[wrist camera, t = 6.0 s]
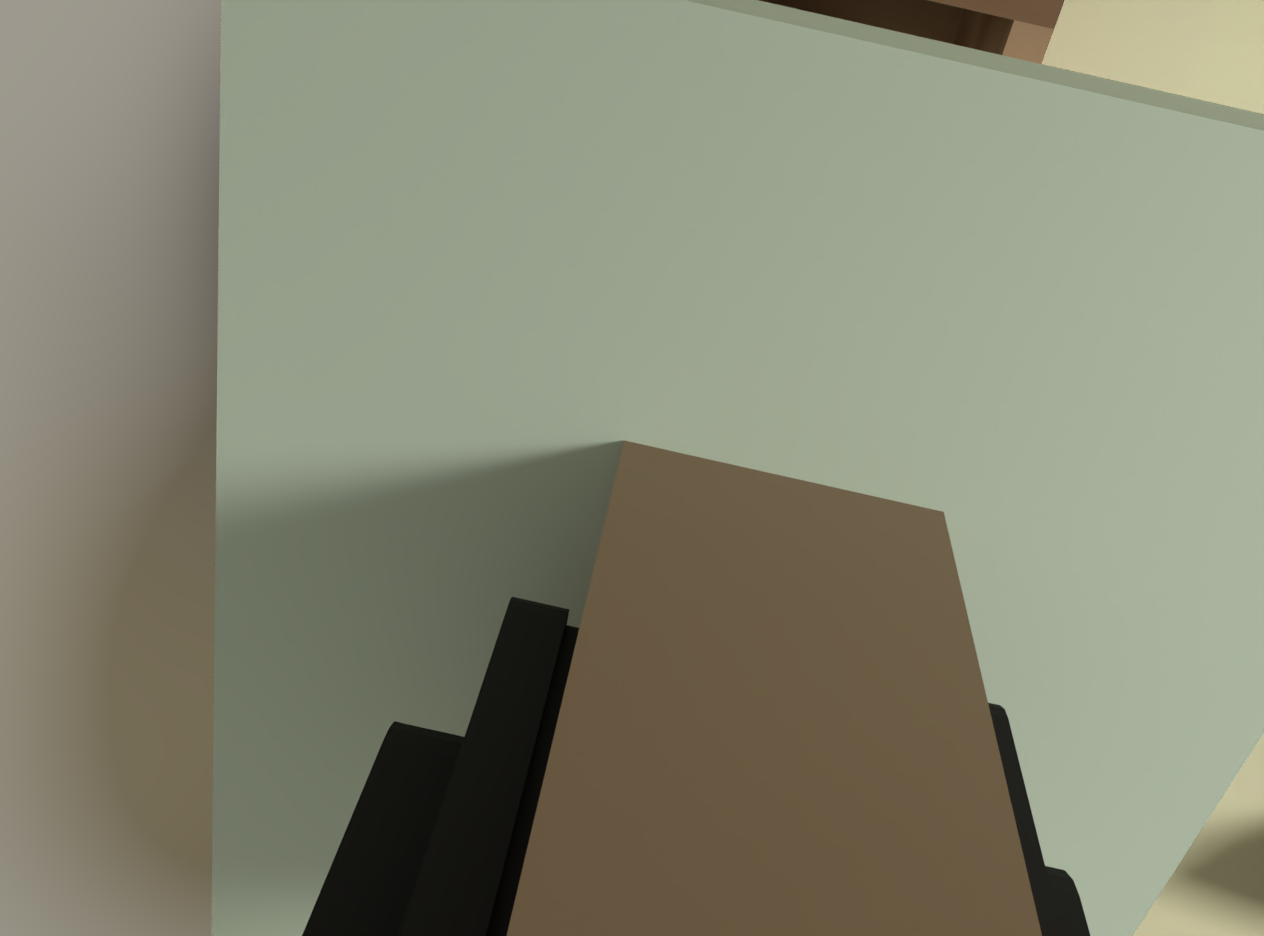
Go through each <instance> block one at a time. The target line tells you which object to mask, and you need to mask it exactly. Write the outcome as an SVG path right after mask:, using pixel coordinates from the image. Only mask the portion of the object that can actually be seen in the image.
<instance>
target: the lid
mask: <svg viewBox="0 0 1264 936" xmlns="http://www.w3.org/2000/svg"><path fill="white" fill-rule="evenodd" d="M220 67H221V68H220V162H219V163H220V165H219V168H220V169H219V173H220V174H219V259H218V264H219V265H218V355H217V357H218V358H217V366H218V368H217V452H216V453H217V455H216V548H215V549H216V551H215V645H214V648H215V649H214V653H215V654H214V745H213V747H214V749H213V839H212V847H213V848H212V934H211V936H302V934H303V932H304V930H305V927H306V925H307V922H308V920H309V918H310V915H311V913H312V910H313V908H314V906H315V903H316V901H317V898H318V896H319V894H320V891H321V889H322V886H323V884H324V882H325V879H326V877H327V874H328V872H329V870H330V867H331V865H332V862H333V860H334V857H335V855H336V853H337V850H338V848H339V845H340V843H341V841H342V838H343V836H344V833H345V831H346V829H347V826H348V824H349V821H350V819H351V817H352V814H353V812H354V809H355V807H356V805H357V802H358V800H359V797H360V795H361V793H362V790H363V788H364V785H365V783H366V781H367V778H368V776H369V773H370V771H371V769H372V766H373V764H374V761H375V759H376V756H377V754H378V752H379V749H380V747H381V744H382V742H383V740H384V738H385V736H386V734H387V731H388V729H389V727H390V726H391V725H392V723H393V722H394V721H395V722H400V723H404V724H409V725H413V726H418V727H422V728H427V729H431V730H436V731H440V732H445V733H449V734H454V735H458V736H463V737H465V734H466V731H467V728H468V725H469V722H470V719H471V716H472V713H473V710H474V707H475V704H476V701H477V698H478V695H479V692H480V689H481V686H482V683H483V680H484V677H485V673H486V670H487V667H488V664H489V661H490V658H491V655H492V652H493V649H494V646H495V643H496V640H497V637H498V634H499V631H500V628H501V625H502V622H503V619H504V616H505V613H506V610H507V607H508V604H509V602H510V599H511V597H516V598H521V599H525V600H530V601H534V602H539V603H543V604H548V605H552V606H557V607H561V608H566V609H569V615H568V620H567V625H568V626H573V627H577V628H579V632H578V636H577V640H576V645H575V649H574V653H573V657H572V661H571V666H570V670H569V674H568V678H567V683H566V687H565V691H564V695H563V699H562V704H561V708H560V712H559V716H558V721H557V725H556V729H555V733H554V737H553V742H552V746H551V750H550V754H549V759H548V763H547V767H546V771H545V775H544V780H543V784H542V788H541V792H540V797H539V801H538V805H537V809H536V813H535V818H534V822H533V826H532V830H531V835H530V839H529V843H528V847H527V851H526V856H525V860H524V864H523V868H522V873H521V877H520V881H519V885H518V889H517V894H516V898H515V902H514V906H513V911H512V915H511V919H510V923H509V927H508V932H507V936H1042V933H1041V929H1040V925H1039V920H1038V916H1037V912H1036V908H1035V903H1034V899H1033V895H1032V890H1031V886H1030V882H1029V877H1028V873H1027V869H1026V864H1025V860H1024V856H1023V852H1022V847H1021V843H1020V839H1019V834H1018V830H1017V826H1016V821H1015V817H1014V813H1013V808H1012V804H1011V800H1010V796H1009V791H1008V787H1007V783H1006V778H1005V774H1004V770H1003V765H1002V761H1001V757H1000V752H999V748H998V744H997V740H996V735H995V731H994V727H993V722H992V718H991V714H990V709H989V705H988V703H992V704H997V705H1000V706H1002V707H1003V708H1004V709H1005V711H1006V714H1007V716H1008V719H1009V723H1010V727H1011V731H1012V735H1013V739H1014V743H1015V747H1016V751H1017V755H1018V759H1019V763H1020V768H1021V772H1022V776H1023V780H1024V784H1025V788H1026V792H1027V796H1028V800H1029V804H1030V808H1031V812H1032V816H1033V820H1034V824H1035V828H1036V832H1037V836H1038V840H1039V844H1040V848H1041V852H1042V856H1043V860H1044V864H1045V866H1048V867H1053V868H1057V869H1062V870H1065V871H1066V872H1067V873H1068V874H1069V876H1070V877H1071V878H1072V879H1073V881H1074V883H1075V886H1076V888H1077V891H1078V893H1079V896H1080V899H1081V903H1082V907H1083V910H1084V914H1085V918H1086V921H1087V925H1088V929H1089V932H1090V936H1133V935H1134V933H1135V932H1136V930H1137V929H1138V927H1139V926H1140V924H1141V922H1142V921H1143V919H1144V918H1145V916H1146V915H1147V913H1148V912H1149V910H1150V908H1151V907H1152V905H1153V904H1154V902H1155V901H1156V899H1157V898H1158V896H1159V894H1160V893H1161V891H1162V890H1163V888H1164V887H1165V885H1166V884H1167V882H1168V880H1169V879H1170V877H1171V876H1172V874H1173V873H1174V871H1175V870H1176V868H1177V866H1178V865H1179V863H1180V862H1181V860H1182V859H1183V857H1184V856H1185V854H1186V852H1187V851H1188V849H1189V848H1190V846H1191V845H1192V843H1193V842H1194V840H1195V838H1196V837H1197V835H1198V834H1199V832H1200V831H1201V829H1202V828H1203V826H1204V824H1205V823H1206V821H1207V820H1208V818H1209V817H1210V815H1211V814H1212V812H1213V810H1214V809H1215V807H1216V806H1217V804H1218V803H1219V801H1220V800H1221V798H1222V796H1223V795H1224V793H1225V792H1226V790H1227V789H1228V787H1229V786H1230V784H1231V782H1232V781H1233V779H1234V778H1235V776H1236V775H1237V773H1238V772H1239V770H1240V768H1241V767H1242V765H1243V764H1244V762H1245V761H1246V759H1247V758H1248V756H1249V755H1250V753H1251V751H1252V750H1253V748H1254V747H1255V745H1256V744H1257V742H1258V741H1259V739H1260V737H1261V736H1262V734H1263V733H1264V114H1260V113H1256V112H1251V111H1247V110H1242V109H1238V108H1234V107H1229V106H1225V105H1220V104H1216V103H1211V102H1207V101H1203V100H1198V99H1194V98H1189V97H1185V96H1180V95H1176V94H1172V93H1167V92H1163V91H1158V90H1154V89H1149V88H1145V87H1141V86H1136V85H1132V84H1127V83H1123V82H1118V81H1114V80H1109V79H1105V78H1101V77H1096V76H1092V75H1087V74H1083V73H1078V72H1074V71H1070V70H1065V69H1061V68H1056V67H1052V66H1047V65H1043V64H1039V63H1034V62H1030V61H1025V60H1021V59H1016V58H1012V57H1007V56H1003V55H999V54H994V53H990V52H985V51H981V50H976V49H972V48H968V47H963V46H959V45H954V44H950V43H945V42H941V41H937V40H932V39H928V38H923V37H919V36H914V35H910V34H906V33H901V32H897V31H892V30H888V29H883V28H879V27H874V26H870V25H866V24H861V23H857V22H852V21H848V20H843V19H839V18H835V17H830V16H826V15H821V14H817V13H812V12H808V11H804V10H799V9H795V8H790V7H786V6H781V5H777V4H772V3H768V2H764V1H759V0H221V65H220Z"/></svg>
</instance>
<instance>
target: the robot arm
mask: <svg viewBox="0 0 1264 936" xmlns="http://www.w3.org/2000/svg"><path fill="white" fill-rule="evenodd" d="M568 615H569V609H566V608H561V607H557V606H552V605H548V604H543V603H539V602H534V601H530V600H525V599H521V598H516V597H511V599H510V602H509V604H508V607H507V610H506V613H505V616H504V619H503V622H502V625H501V628H500V631H499V634H498V637H497V640H496V643H495V646H494V649H493V652H492V655H491V658H490V661H489V664H488V667H487V670H486V673H485V677H484V680H483V683H482V686H481V689H480V692H479V695H478V698H477V701H476V704H475V707H474V710H473V713H472V716H471V719H470V722H469V725H468V728H467V731H466V734H465V737H463V736H458V735H454V734H449V733H445V732H440V731H436V730H431V729H427V728H422V727H418V726H413V725H409V724H404V723H400V722H395V721H394V722H393V723H392V725H391V726H390V727H389V729H388V731H387V734H386V736H385V738H384V740H383V742H382V744H381V747H380V749H379V752H378V754H377V756H376V759H375V761H374V764H373V766H372V769H371V771H370V773H369V776H368V778H367V781H366V783H365V785H364V788H363V790H362V793H361V795H360V797H359V800H358V802H357V805H356V807H355V809H354V812H353V814H352V817H351V819H350V821H349V824H348V826H347V829H346V831H345V833H344V836H343V838H342V841H341V843H340V845H339V848H338V850H337V853H336V855H335V857H334V860H333V862H332V865H331V867H330V870H329V872H328V874H327V877H326V879H325V882H324V884H323V886H322V889H321V891H320V894H319V896H318V898H317V901H316V903H315V906H314V908H313V910H312V913H311V915H310V918H309V920H308V922H307V925H306V927H305V930H304V932H303V934H302V936H507V932H508V927H509V923H510V919H511V915H512V911H513V906H514V902H515V898H516V894H517V889H518V885H519V881H520V877H521V873H522V868H523V864H524V860H525V856H526V851H527V847H528V843H529V839H530V835H531V830H532V826H533V822H534V818H535V813H536V809H537V805H538V801H539V797H540V792H541V788H542V784H543V780H544V775H545V771H546V767H547V763H548V759H549V754H550V750H551V746H552V742H553V737H554V733H555V729H556V725H557V721H558V716H559V712H560V708H561V704H562V699H563V695H564V691H565V687H566V683H567V678H568V674H569V670H570V666H571V661H572V657H573V653H574V649H575V645H576V640H577V636H578V632H579V628H577V627H573V626H568V625H567V620H568ZM988 705H989V709H990V714H991V718H992V722H993V727H994V731H995V735H996V740H997V744H998V748H999V752H1000V757H1001V761H1002V765H1003V770H1004V774H1005V778H1006V783H1007V787H1008V791H1009V796H1010V800H1011V804H1012V808H1013V813H1014V817H1015V821H1016V826H1017V830H1018V834H1019V839H1020V843H1021V847H1022V852H1023V856H1024V860H1025V864H1026V869H1027V873H1028V877H1029V882H1030V886H1031V890H1032V895H1033V899H1034V903H1035V908H1036V912H1037V916H1038V920H1039V925H1040V929H1041V933H1042V936H1090V932H1089V929H1088V925H1087V921H1086V918H1085V914H1084V910H1083V907H1082V903H1081V899H1080V896H1079V893H1078V891H1077V888H1076V886H1075V883H1074V881H1073V879H1072V878H1071V877H1070V876H1069V874H1068V873H1067V872H1066V871H1065V870H1062V869H1057V868H1053V867H1048V866H1045V864H1044V860H1043V856H1042V852H1041V848H1040V844H1039V840H1038V836H1037V832H1036V828H1035V824H1034V820H1033V816H1032V812H1031V808H1030V804H1029V800H1028V796H1027V792H1026V788H1025V784H1024V780H1023V776H1022V772H1021V768H1020V763H1019V759H1018V755H1017V751H1016V747H1015V743H1014V739H1013V735H1012V731H1011V727H1010V723H1009V719H1008V716H1007V714H1006V711H1005V709H1004V708H1003V707H1002V706H1000V705H997V704H992V703H988Z"/></svg>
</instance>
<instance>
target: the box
mask: <svg viewBox="0 0 1264 936" xmlns="http://www.w3.org/2000/svg"><path fill="white" fill-rule="evenodd" d="M759 1H764V2H768V3H772V4H785V5H789V6H793V7H796V8H798V9H800V10H804V11H808V12H812V13H817V14H821V15H826V16H830V17H835V18H839V19H843V20H848V21H852V22H857V23H861V24H866V25H870V26H874V27H879V28H883V29H888V30H892V31H897V32H901V33H906V34H910V35H914V36H919V37H923V38H928V39H932V40H937V41H941V42H945V43H950V44H954V45H959V46H963V47H968V48H972V49H976V50H981V51H985V52H990V53H994V54H999V55H1003V56H1007V57H1012V58H1016V59H1021V60H1025V61H1030V62H1034V63H1039V64H1041V63H1042V60H1043V58H1044V55H1045V52H1046V49H1047V47H1048V44H1049V41H1050V38H1051V36H1052V33H1053V30H1054V27H1055V25H1056V22H1057V19H1058V17H1059V14H1060V11H1061V8H1062V6H1063V3H1064V0H759Z"/></svg>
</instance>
